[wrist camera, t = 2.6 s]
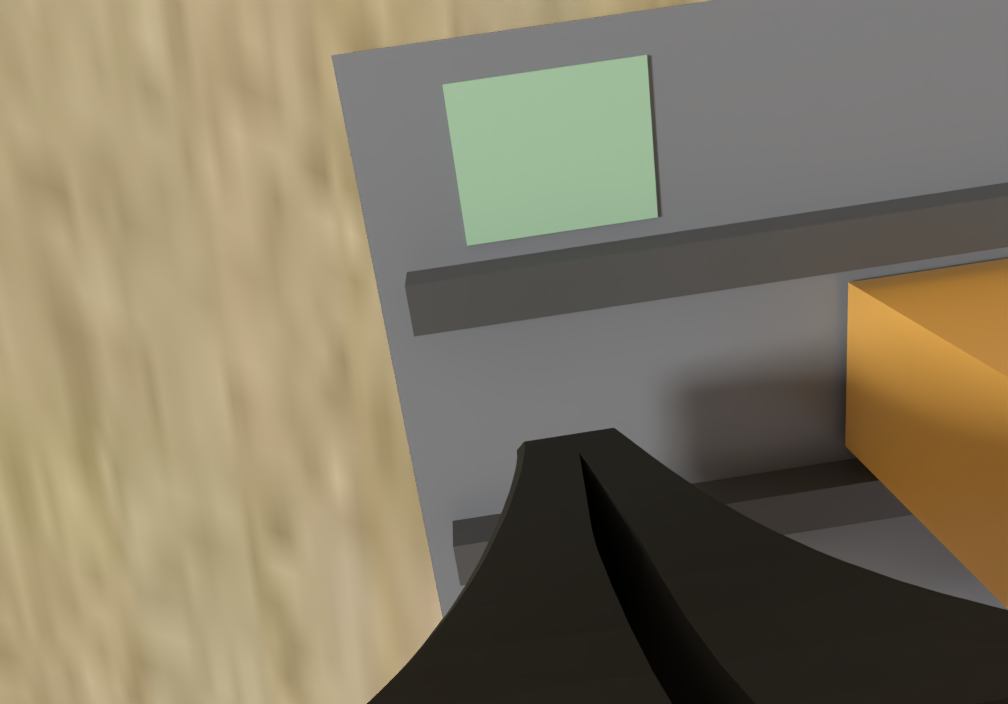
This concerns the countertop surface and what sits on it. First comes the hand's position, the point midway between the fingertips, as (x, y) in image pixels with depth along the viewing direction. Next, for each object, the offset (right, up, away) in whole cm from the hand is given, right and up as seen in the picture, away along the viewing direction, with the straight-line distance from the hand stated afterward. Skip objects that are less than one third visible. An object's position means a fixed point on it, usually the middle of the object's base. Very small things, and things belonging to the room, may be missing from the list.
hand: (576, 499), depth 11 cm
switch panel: (+6, +3, +6) cm, 9 cm away
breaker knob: (+6, +2, +3) cm, 7 cm away
